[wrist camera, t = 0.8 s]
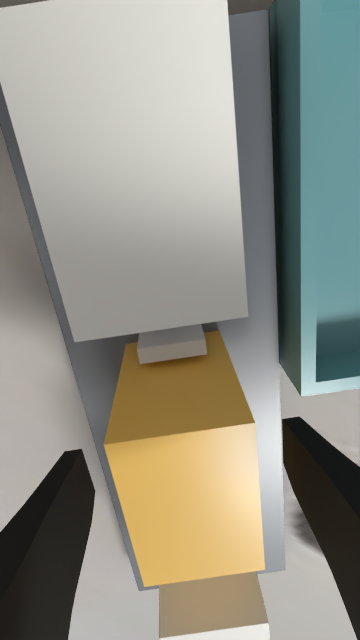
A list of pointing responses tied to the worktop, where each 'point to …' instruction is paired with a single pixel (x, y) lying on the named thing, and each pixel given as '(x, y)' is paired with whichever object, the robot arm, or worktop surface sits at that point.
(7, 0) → the worktop surface
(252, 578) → the block
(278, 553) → the board
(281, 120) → the tray
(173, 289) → the block
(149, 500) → the yellow rectangular block
